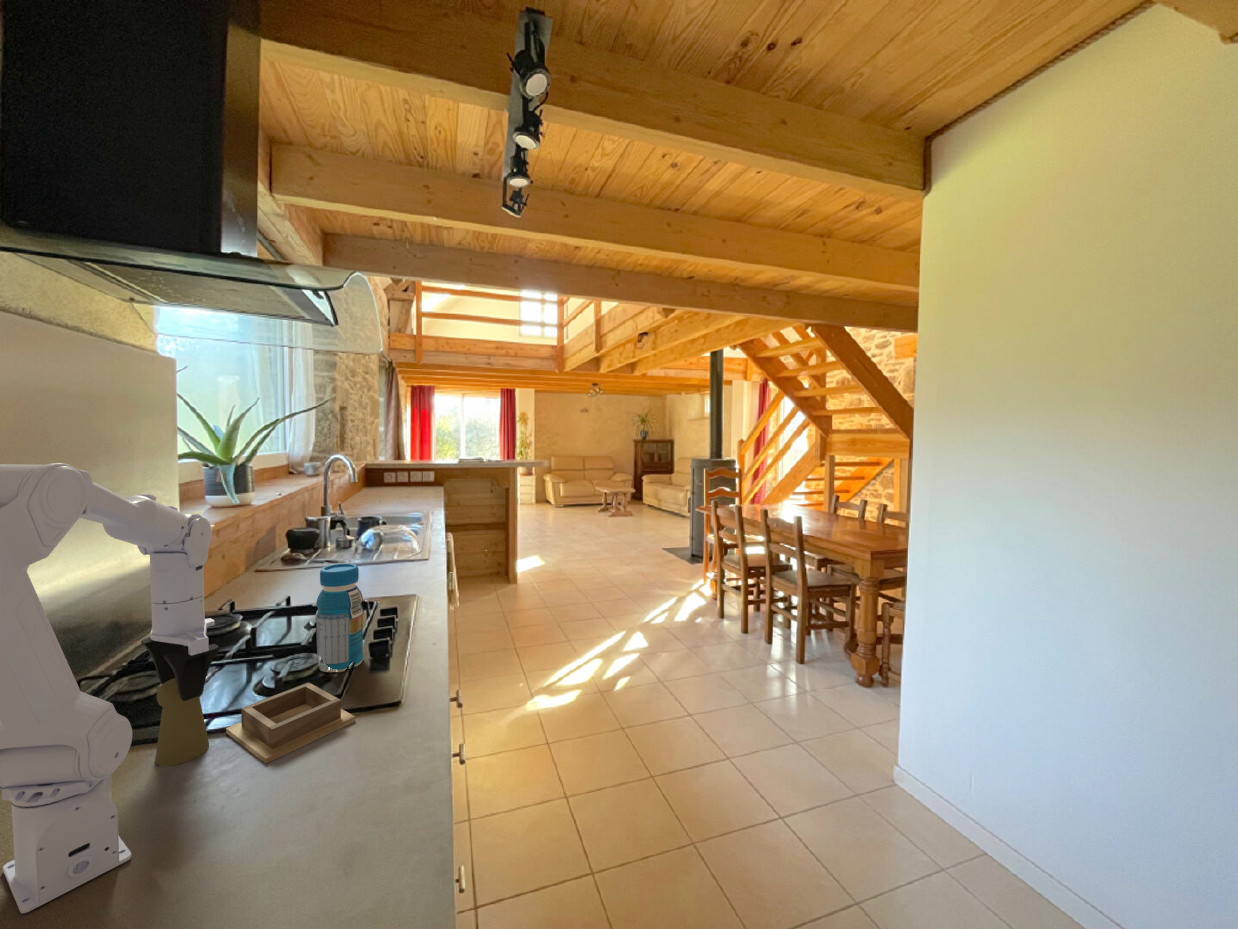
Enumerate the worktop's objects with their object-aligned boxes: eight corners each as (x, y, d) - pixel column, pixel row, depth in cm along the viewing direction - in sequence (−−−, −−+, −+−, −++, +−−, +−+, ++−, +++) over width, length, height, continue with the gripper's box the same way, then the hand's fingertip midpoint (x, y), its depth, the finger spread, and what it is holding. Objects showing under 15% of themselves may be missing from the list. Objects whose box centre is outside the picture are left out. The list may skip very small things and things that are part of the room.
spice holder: (355, 721, 83) (354, 698, 83) (265, 764, 72) (265, 738, 72) (313, 697, 90) (313, 676, 90) (226, 733, 79) (225, 709, 79)
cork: (220, 742, 77) (218, 671, 76) (181, 768, 71) (179, 691, 70) (183, 738, 77) (181, 668, 77) (142, 764, 71) (140, 688, 71)
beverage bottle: (320, 679, 96) (319, 575, 95) (312, 663, 103) (311, 565, 102) (368, 667, 102) (367, 568, 101) (358, 652, 108) (357, 559, 107)
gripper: (233, 600, 72) (235, 692, 73) (192, 581, 80) (195, 665, 81) (169, 614, 66) (173, 715, 67) (132, 593, 74) (135, 683, 75)
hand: (181, 689), depth 73 cm, fingers open, 7 cm apart
